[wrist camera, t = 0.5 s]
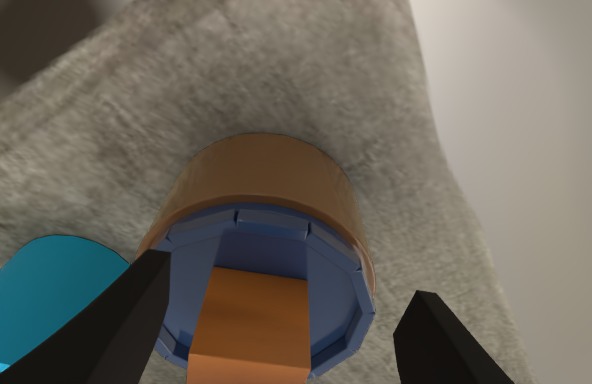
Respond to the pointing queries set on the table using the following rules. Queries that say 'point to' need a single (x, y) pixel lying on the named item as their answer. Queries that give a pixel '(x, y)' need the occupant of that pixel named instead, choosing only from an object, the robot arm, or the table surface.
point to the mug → (50, 289)
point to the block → (251, 330)
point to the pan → (267, 239)
